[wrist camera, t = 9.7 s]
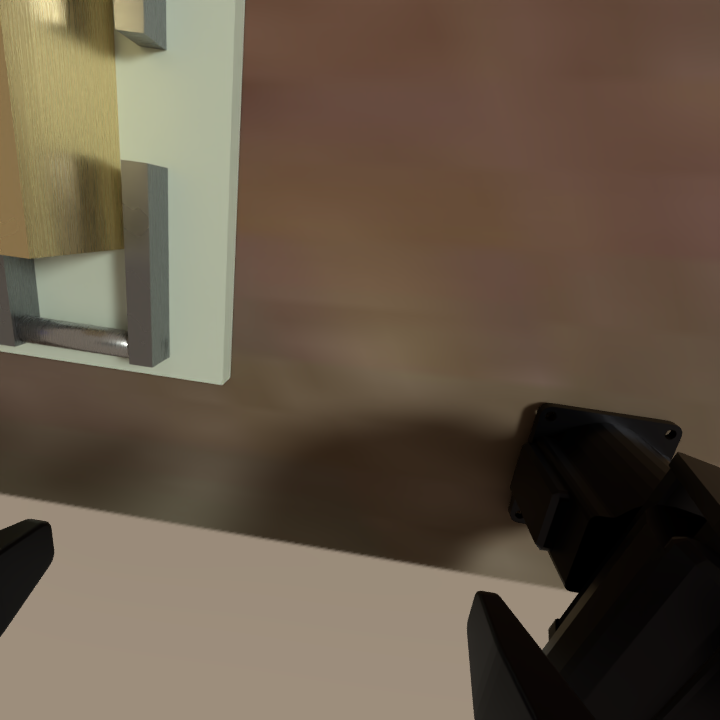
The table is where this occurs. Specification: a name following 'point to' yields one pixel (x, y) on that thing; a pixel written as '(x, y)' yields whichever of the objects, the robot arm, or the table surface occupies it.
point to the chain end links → (141, 246)
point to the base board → (170, 194)
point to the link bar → (58, 129)
